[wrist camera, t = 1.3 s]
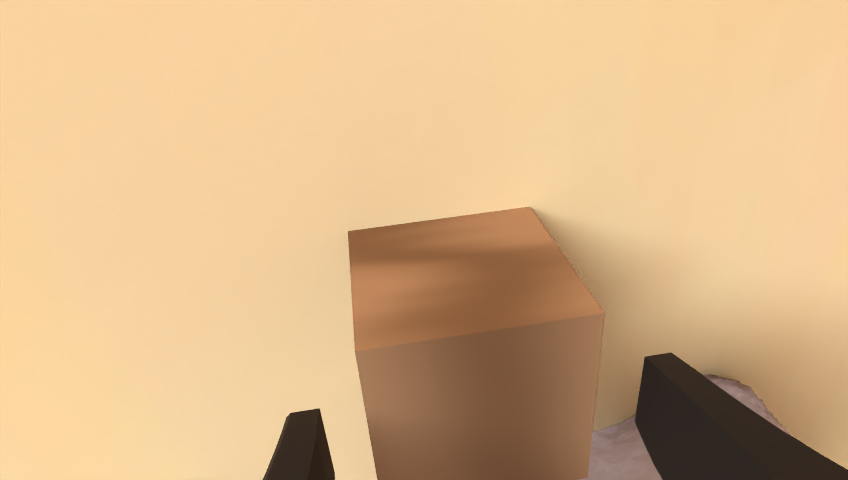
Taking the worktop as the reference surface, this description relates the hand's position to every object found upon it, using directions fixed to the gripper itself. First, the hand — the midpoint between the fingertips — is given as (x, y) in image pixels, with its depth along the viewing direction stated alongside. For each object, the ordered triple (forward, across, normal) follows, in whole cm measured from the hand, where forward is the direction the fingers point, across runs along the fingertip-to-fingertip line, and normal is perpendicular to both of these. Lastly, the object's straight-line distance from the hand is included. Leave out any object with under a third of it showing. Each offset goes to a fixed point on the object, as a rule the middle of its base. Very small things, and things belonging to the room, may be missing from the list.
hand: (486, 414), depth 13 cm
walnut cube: (+5, 0, 0) cm, 5 cm away
